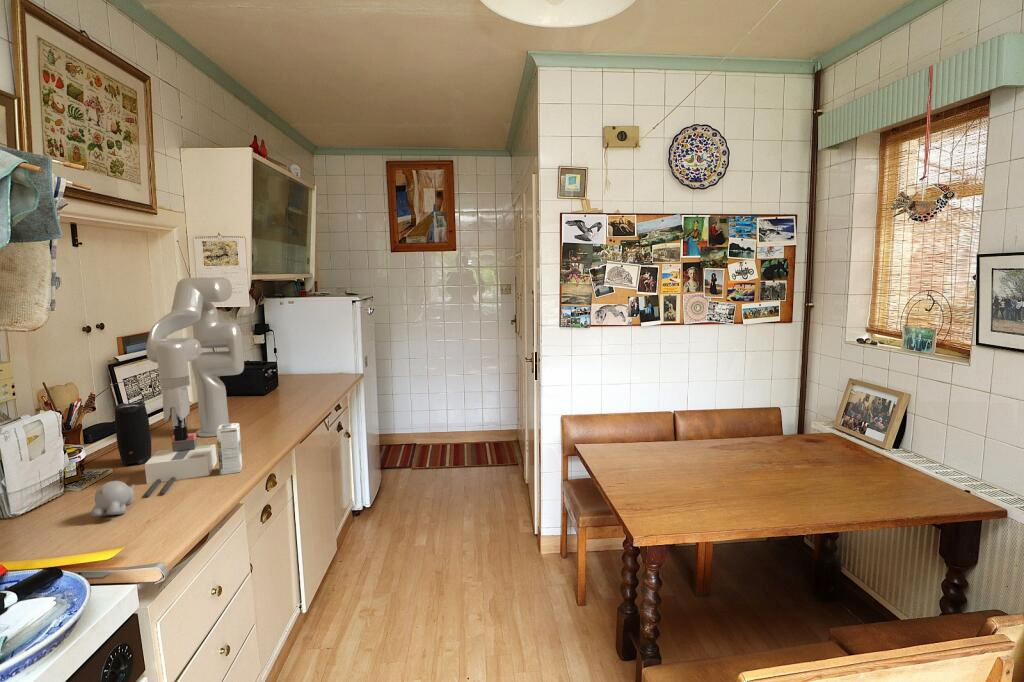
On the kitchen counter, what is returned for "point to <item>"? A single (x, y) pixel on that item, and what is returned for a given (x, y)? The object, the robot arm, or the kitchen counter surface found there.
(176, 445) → the handle
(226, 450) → the syrup box
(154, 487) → the dressed cords
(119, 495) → the toy rhinoceros
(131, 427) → the portable speaker
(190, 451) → the block
